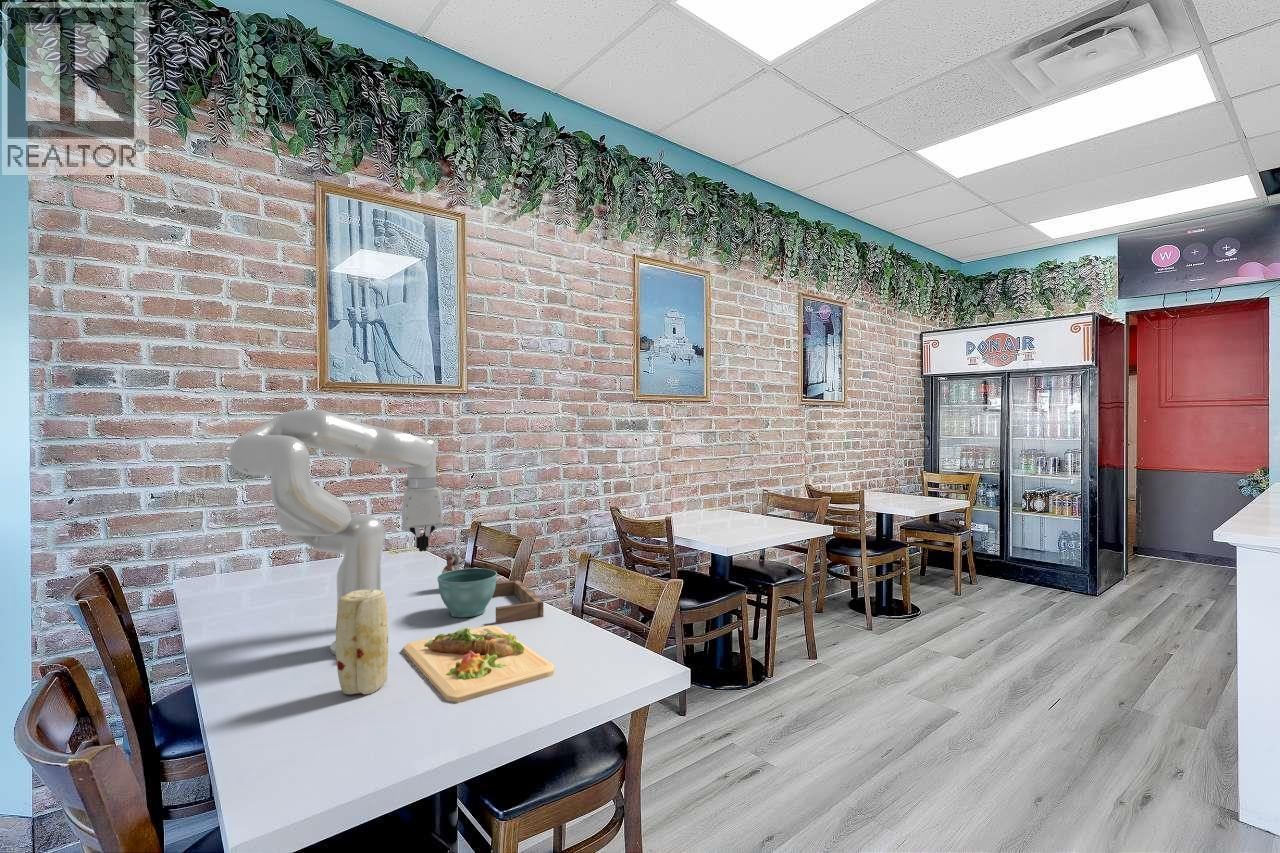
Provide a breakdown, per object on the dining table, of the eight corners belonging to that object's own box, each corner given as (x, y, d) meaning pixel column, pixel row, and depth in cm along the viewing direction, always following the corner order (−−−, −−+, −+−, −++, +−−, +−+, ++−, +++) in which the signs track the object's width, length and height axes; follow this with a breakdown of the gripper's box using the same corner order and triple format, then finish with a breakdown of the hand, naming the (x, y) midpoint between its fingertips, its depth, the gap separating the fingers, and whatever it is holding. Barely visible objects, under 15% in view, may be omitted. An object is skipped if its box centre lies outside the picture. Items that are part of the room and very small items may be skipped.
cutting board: (559, 676, 127) (559, 641, 126) (451, 708, 113) (450, 669, 112) (494, 630, 155) (494, 601, 155) (400, 651, 141) (400, 620, 141)
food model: (383, 678, 124) (382, 583, 124) (394, 688, 119) (393, 590, 119) (332, 692, 118) (331, 592, 118) (341, 704, 113) (340, 599, 113)
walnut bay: (543, 616, 164) (543, 602, 163) (497, 623, 158) (497, 608, 158) (518, 592, 187) (518, 579, 187) (477, 598, 181) (477, 585, 181)
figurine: (467, 587, 193) (467, 550, 193) (458, 593, 186) (458, 555, 186) (446, 586, 194) (446, 550, 194) (436, 592, 187) (436, 554, 187)
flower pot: (438, 607, 172) (438, 570, 172) (495, 602, 177) (495, 565, 177) (436, 625, 157) (436, 584, 157) (499, 619, 162) (499, 579, 162)
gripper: (393, 486, 155) (394, 556, 156) (452, 483, 162) (452, 550, 162) (391, 484, 162) (392, 550, 162) (447, 481, 169) (448, 545, 169)
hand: (422, 550), depth 162 cm, fingers closed
